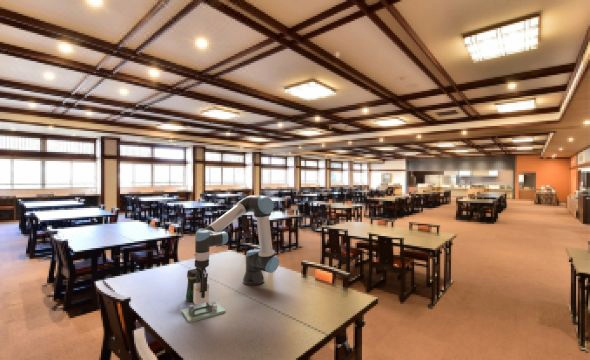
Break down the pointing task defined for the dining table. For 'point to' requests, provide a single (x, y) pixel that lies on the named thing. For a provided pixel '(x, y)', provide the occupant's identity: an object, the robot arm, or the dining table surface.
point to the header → (208, 306)
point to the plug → (197, 294)
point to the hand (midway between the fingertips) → (200, 301)
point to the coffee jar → (191, 284)
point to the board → (216, 310)
